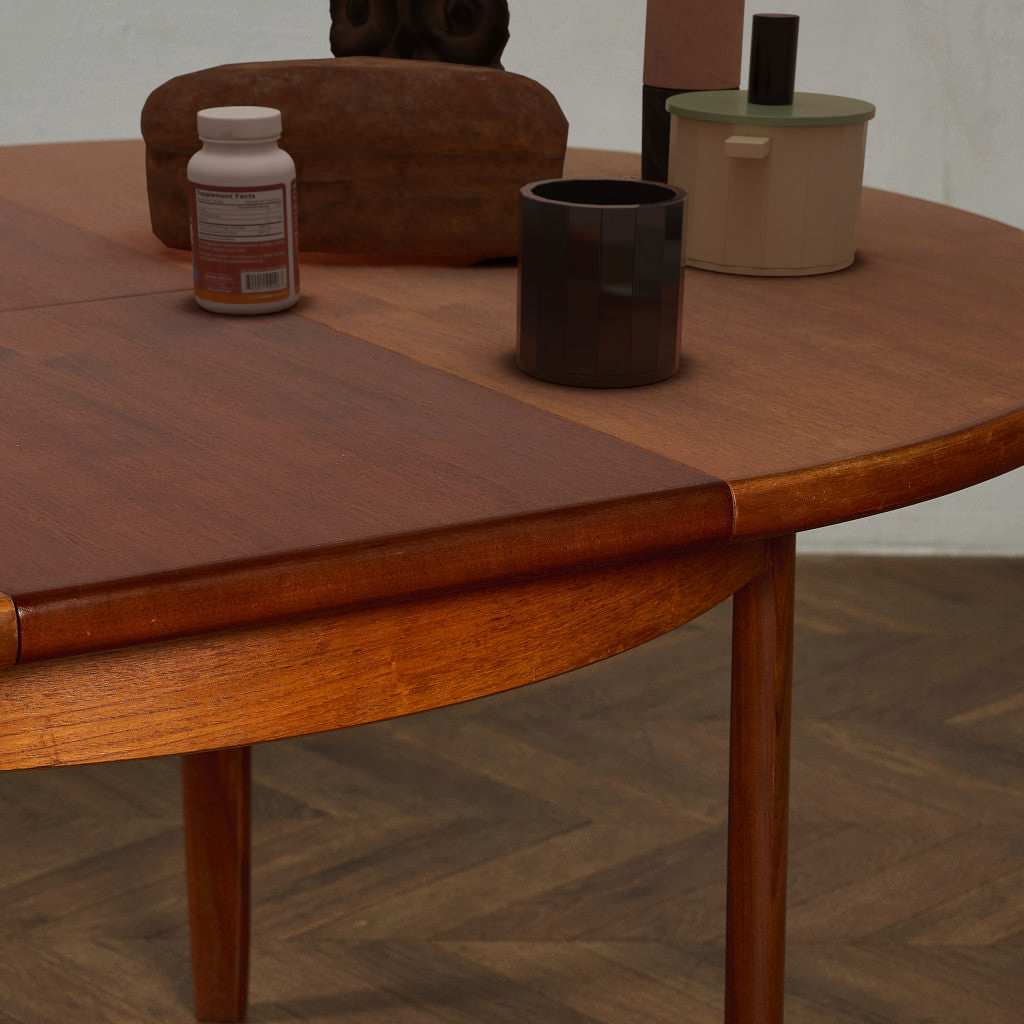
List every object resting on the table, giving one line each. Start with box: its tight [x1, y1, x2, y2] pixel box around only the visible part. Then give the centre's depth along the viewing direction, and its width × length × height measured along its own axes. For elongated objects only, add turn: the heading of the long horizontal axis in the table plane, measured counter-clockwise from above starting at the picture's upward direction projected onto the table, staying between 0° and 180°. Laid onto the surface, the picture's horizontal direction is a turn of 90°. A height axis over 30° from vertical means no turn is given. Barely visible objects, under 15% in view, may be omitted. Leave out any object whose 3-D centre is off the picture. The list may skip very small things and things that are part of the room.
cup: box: [515, 176, 689, 389], centre depth 83 cm, size 8×8×9 cm
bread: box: [139, 56, 570, 259], centre depth 109 cm, size 14×28×12 cm, turn 90°
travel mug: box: [640, 0, 746, 184], centre depth 128 cm, size 8×8×20 cm
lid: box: [666, 12, 877, 127], centre depth 106 cm, size 14×14×7 cm
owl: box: [328, 0, 511, 71], centre depth 128 cm, size 13×13×20 cm
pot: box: [668, 114, 869, 277], centre depth 109 cm, size 13×18×10 cm
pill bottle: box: [187, 106, 301, 315], centre depth 94 cm, size 6×6×11 cm
